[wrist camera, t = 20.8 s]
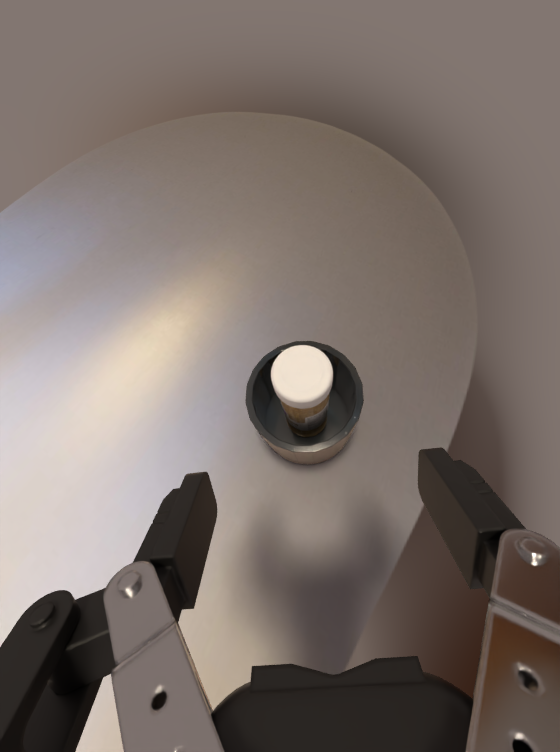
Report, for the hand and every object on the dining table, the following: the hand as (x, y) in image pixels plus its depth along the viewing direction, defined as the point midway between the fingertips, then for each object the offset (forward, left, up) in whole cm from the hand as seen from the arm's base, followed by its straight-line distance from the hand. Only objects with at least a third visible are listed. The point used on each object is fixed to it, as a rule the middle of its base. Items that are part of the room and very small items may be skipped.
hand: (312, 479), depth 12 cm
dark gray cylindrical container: (+3, -7, -22) cm, 24 cm away
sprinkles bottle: (+3, -7, -22) cm, 23 cm away
